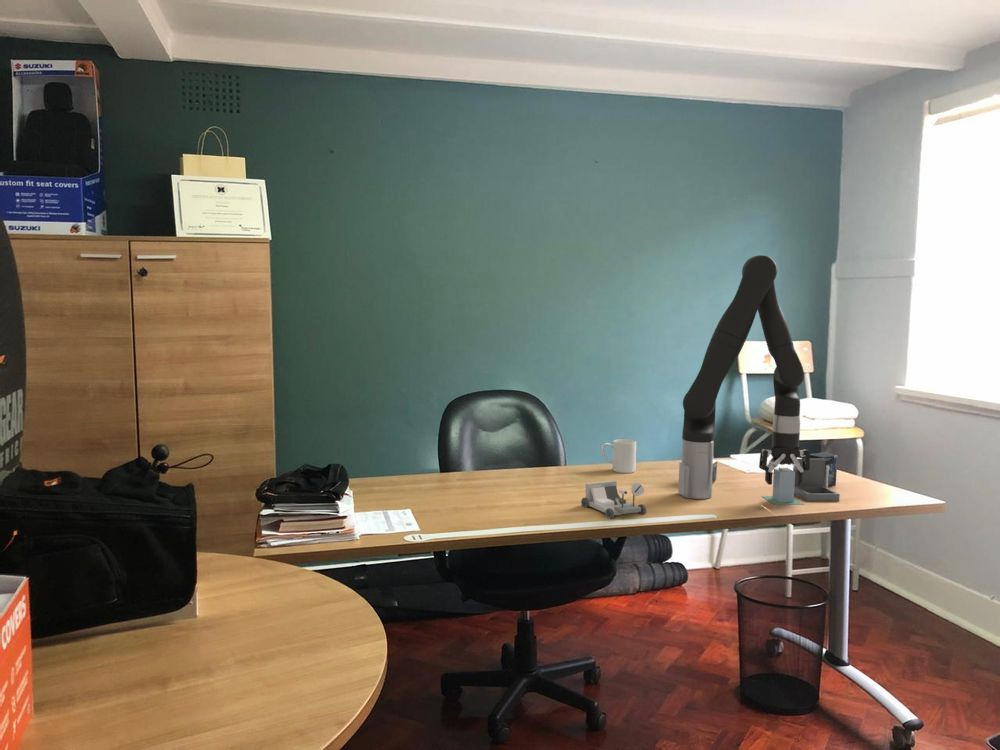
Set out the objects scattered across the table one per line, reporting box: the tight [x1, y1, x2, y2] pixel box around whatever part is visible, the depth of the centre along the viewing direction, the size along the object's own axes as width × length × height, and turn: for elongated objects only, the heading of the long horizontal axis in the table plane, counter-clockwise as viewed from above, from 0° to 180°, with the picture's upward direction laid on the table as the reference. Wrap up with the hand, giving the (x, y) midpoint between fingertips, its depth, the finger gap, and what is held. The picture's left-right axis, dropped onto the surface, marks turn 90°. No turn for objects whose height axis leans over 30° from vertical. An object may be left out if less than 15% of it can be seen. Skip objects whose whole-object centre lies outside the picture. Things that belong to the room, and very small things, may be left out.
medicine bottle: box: [712, 447, 718, 485], centre depth 244 cm, size 7×7×12 cm
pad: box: [761, 495, 805, 506], centre depth 220 cm, size 9×9×1 cm
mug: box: [601, 438, 637, 474], centre depth 258 cm, size 12×8×10 cm, turn 97°
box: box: [810, 451, 838, 488], centre depth 239 cm, size 8×6×11 cm
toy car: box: [580, 480, 647, 520], centre depth 207 cm, size 18×10×12 cm
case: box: [792, 458, 841, 502], centre depth 224 cm, size 11×11×11 cm
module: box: [772, 466, 795, 502], centre depth 219 cm, size 4×4×10 cm
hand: (783, 484), depth 219 cm, fingers open, 8 cm apart
